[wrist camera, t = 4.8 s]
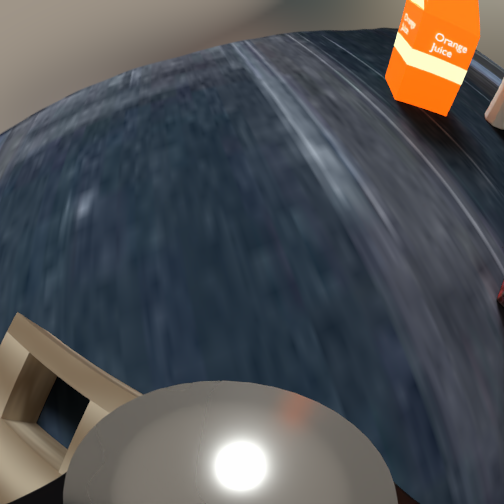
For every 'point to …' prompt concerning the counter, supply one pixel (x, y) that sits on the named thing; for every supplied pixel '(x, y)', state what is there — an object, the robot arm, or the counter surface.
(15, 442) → the birch hole board
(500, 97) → the squeeze bottle
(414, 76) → the orange juice
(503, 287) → the snack box
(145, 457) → the steel peg
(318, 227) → the counter surface
